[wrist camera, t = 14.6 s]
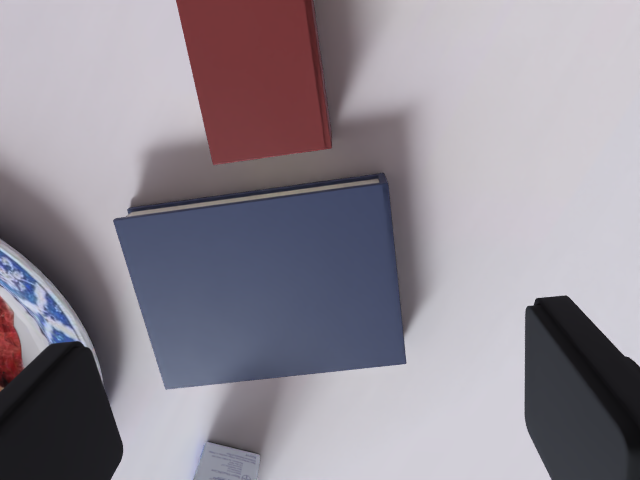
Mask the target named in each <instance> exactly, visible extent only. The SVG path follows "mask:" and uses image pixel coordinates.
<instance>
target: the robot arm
mask: <svg viewBox="0 0 640 480" xmlns="http://www.w3.org/2000/svg"><path fill="white" fill-rule="evenodd" d="M525 421H526V426H527V429H528V432H529V435H530V437H531V439H532V441H533V443H534V445H535V447H536V449H537V451H538V453H539V455H540V457H541V459H542V461H543V463H544V465H545V467H546V469H547V471H548V473H549V475H550V477H551V480H640V367H639V366H638V365H637V364H636V363H635V362H634V361H633V360H632V359H630V358H629V357H625V356H624V355H623V354H622V353H621V352H620V351H619V350H618V349H617V348H616V347H615V346H614V345H613V344H612V343H611V341H610V340H609V339H608V338H607V337H606V336H605V335H604V334H603V333H602V332H601V331H600V330H599V329H598V328H597V327H596V326H595V324H594V323H593V322H592V321H591V320H590V319H589V318H588V317H587V316H586V315H585V314H584V313H583V312H582V311H581V310H580V308H579V307H578V306H577V305H576V304H575V303H574V302H573V301H572V300H571V299H570V298H569V297H568V296H555V297H545V298H537V299H536V300H535V303H534V306H527V308H526V313H525ZM122 455H123V444H122V440H121V437H120V434H119V431H118V428H117V425H116V422H115V419H114V416H113V413H112V410H111V407H110V404H109V401H108V398H107V395H106V392H105V389H104V386H103V383H102V380H101V377H100V374H99V371H98V368H97V365H96V362H95V359H94V356H93V353H92V351H91V349H90V348H88V347H85V346H84V345H83V344H82V343H81V342H79V341H73V342H62V343H53V344H50V345H49V346H47V347H46V348H45V349H44V350H43V351H42V352H41V353H40V354H39V355H38V356H37V357H36V358H35V359H34V360H33V361H32V362H31V363H30V364H29V365H28V366H27V367H25V368H24V369H23V370H22V371H21V372H20V373H19V374H18V375H17V376H16V377H15V378H14V379H13V380H12V381H11V382H10V383H9V384H8V385H7V386H6V387H5V388H4V389H3V390H1V391H0V480H110V479H111V478H112V476H113V474H114V472H115V471H116V469H117V467H118V465H119V463H120V461H121V459H122Z"/></svg>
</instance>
